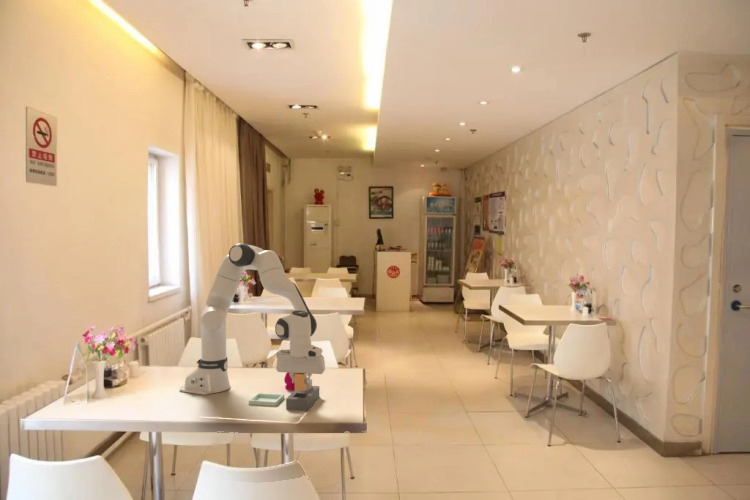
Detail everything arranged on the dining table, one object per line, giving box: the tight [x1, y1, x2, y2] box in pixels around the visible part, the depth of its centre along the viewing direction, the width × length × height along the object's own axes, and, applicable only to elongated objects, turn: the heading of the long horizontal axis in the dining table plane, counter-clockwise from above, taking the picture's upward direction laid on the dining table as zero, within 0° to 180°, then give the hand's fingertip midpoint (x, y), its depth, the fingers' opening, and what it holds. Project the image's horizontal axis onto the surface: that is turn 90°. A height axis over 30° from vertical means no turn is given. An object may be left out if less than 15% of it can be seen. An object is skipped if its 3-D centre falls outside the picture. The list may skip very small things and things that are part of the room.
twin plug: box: [305, 378, 313, 391], centre depth 216 cm, size 4×4×8 cm
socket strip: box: [285, 385, 320, 413], centre depth 212 cm, size 9×18×5 cm, turn 171°
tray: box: [248, 392, 285, 407], centre depth 213 cm, size 12×10×2 cm
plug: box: [295, 373, 308, 391], centre depth 208 cm, size 4×4×8 cm
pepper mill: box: [283, 372, 295, 391], centre depth 231 cm, size 7×7×20 cm
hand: (300, 383), depth 208 cm, fingers closed on plug, 4 cm apart
